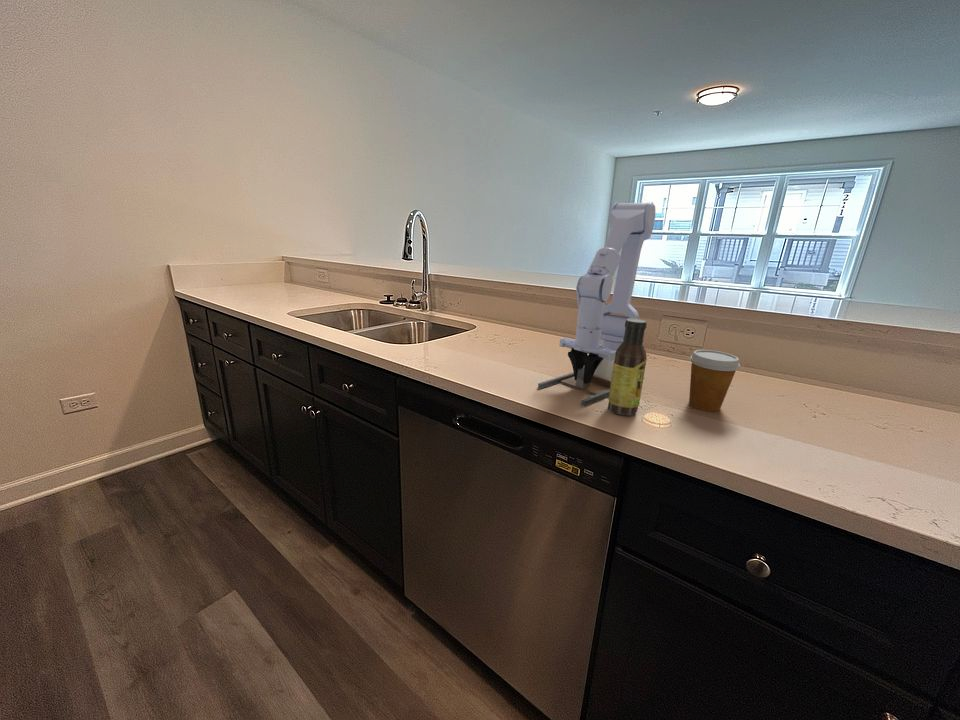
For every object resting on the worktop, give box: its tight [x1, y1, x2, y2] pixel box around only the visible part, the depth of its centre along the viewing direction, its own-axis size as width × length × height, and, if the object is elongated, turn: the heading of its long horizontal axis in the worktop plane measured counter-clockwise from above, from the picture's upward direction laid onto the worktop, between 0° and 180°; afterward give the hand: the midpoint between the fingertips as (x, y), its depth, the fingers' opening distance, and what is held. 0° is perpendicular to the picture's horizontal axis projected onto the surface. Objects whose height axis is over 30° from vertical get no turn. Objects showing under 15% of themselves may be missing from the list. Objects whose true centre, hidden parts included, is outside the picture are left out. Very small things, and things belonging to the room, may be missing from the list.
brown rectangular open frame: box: [560, 367, 611, 396], centre depth 100 cm, size 15×11×5 cm
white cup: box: [593, 358, 615, 381], centre depth 102 cm, size 7×7×7 cm
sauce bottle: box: [607, 318, 648, 416], centre depth 83 cm, size 6×6×20 cm
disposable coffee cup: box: [688, 349, 741, 412], centre depth 88 cm, size 10×10×12 cm
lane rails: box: [537, 371, 610, 407], centre depth 97 cm, size 18×13×1 cm
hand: (582, 381), depth 97 cm, fingers closed on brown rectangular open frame, 2 cm apart
